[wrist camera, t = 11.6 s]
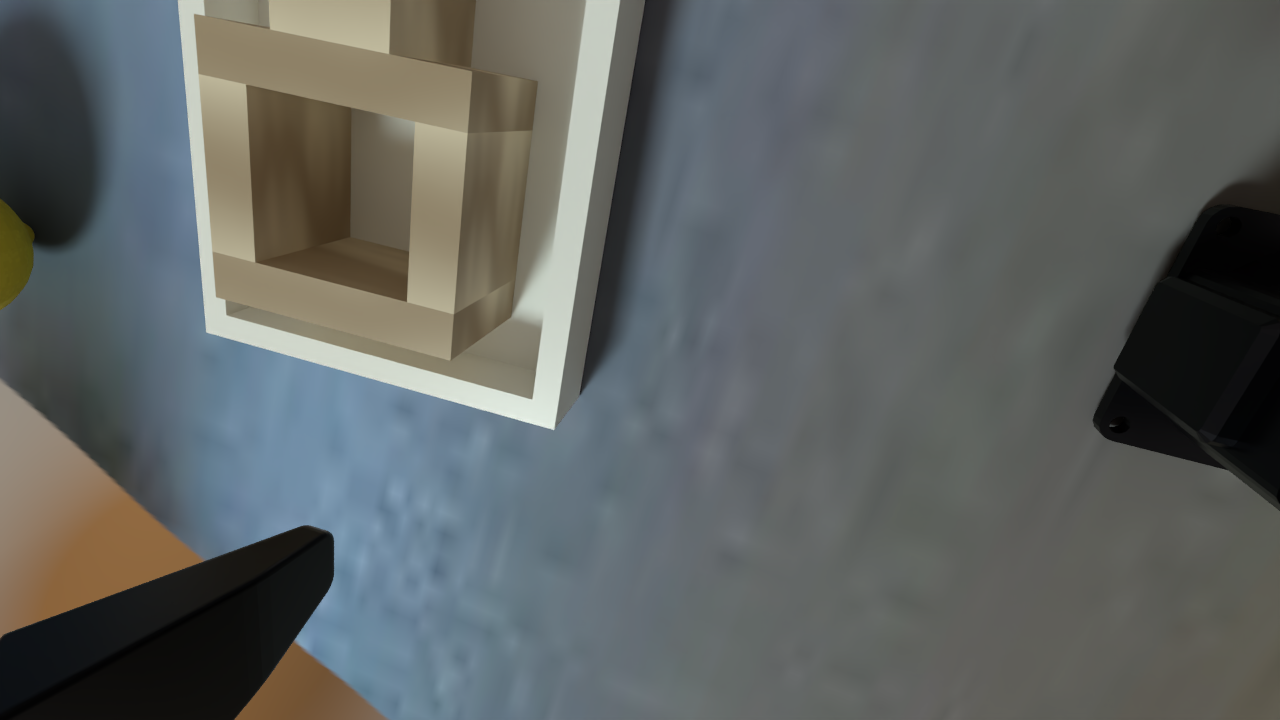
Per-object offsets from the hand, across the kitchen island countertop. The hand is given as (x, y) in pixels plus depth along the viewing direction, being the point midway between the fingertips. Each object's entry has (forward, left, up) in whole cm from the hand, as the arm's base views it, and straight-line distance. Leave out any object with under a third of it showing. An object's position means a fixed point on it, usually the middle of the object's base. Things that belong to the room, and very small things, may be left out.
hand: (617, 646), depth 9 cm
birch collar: (+10, -6, -11) cm, 16 cm away
